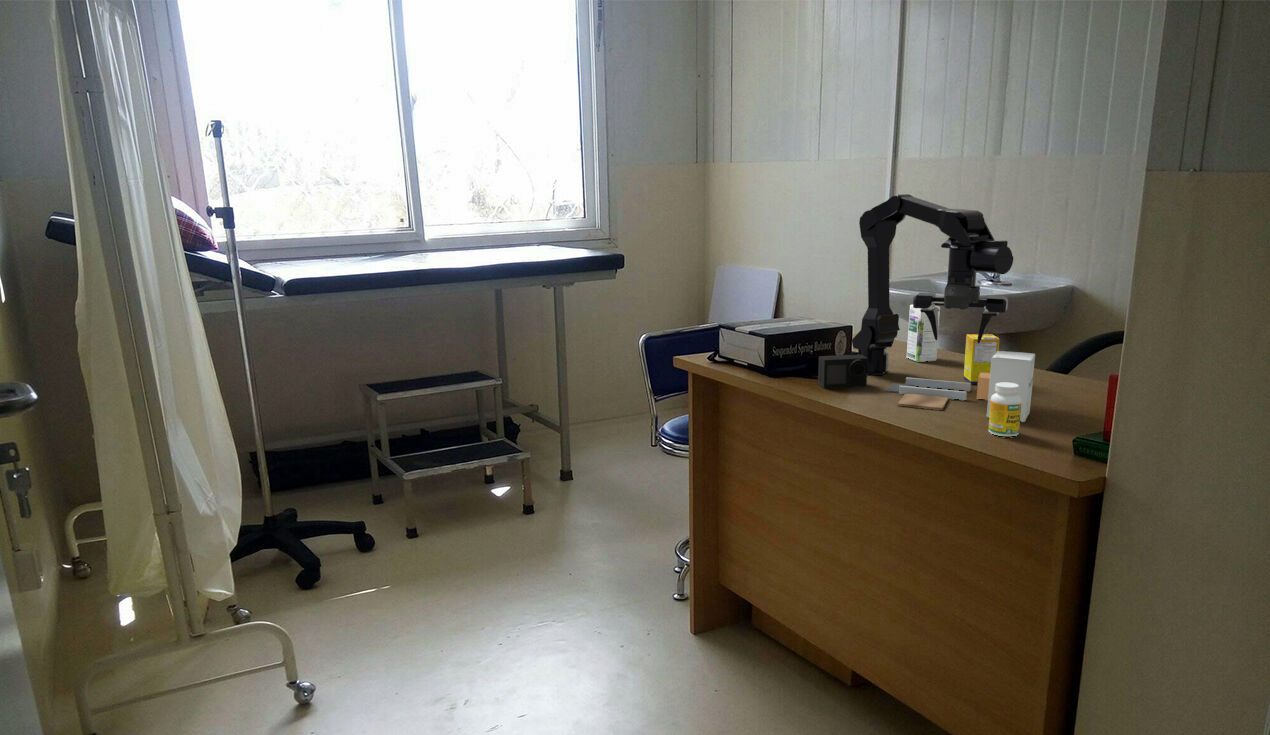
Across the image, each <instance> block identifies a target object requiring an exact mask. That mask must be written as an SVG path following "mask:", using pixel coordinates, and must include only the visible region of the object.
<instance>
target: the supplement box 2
mask: <svg viewBox="0 0 1270 735" xmlns="http://www.w3.org/2000/svg"><path fill="white" fill-rule="evenodd" d="M1035 359H1036V353H1033V352H1032V353H1030V352H1019V351H1004V350H999V351H997V352H996V353H995V354H994V356H993V357H992V360H991V371H990V383H989V395H988V400H987V408H986V409H987V410H986V418H988V419H989V416H990V401H991V397H992V395H993V394H995V393H997V392H996V391H995V386H996V383H1000V382H1009V383H1015V384H1018V385H1019V392H1018V393H1017V395H1018V396H1020V397H1021V399H1022V406H1021V417H1020V421H1021V422H1020V423H1025V422H1026V420H1027V418H1028V416H1029V415H1030V412H1031V402H1032V400H1031V399H1032V395H1033V394H1032V393H1033V382H1034V371H1035V361H1036V360H1035Z"/></svg>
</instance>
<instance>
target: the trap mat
mask: <svg viewBox="0 0 1270 735" xmlns="http://www.w3.org/2000/svg"><path fill="white" fill-rule="evenodd" d="M899 386H911V387H915V386H914V385H906V383H904V384H903V383H902V384H901V383H894V382H891V384H890V385H889V386H888V387H887V388H886V390H885V391H886V392H887V393H894V394H895V393H896V392H897V393H898V394H899ZM897 393H896V394H897Z"/></svg>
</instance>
